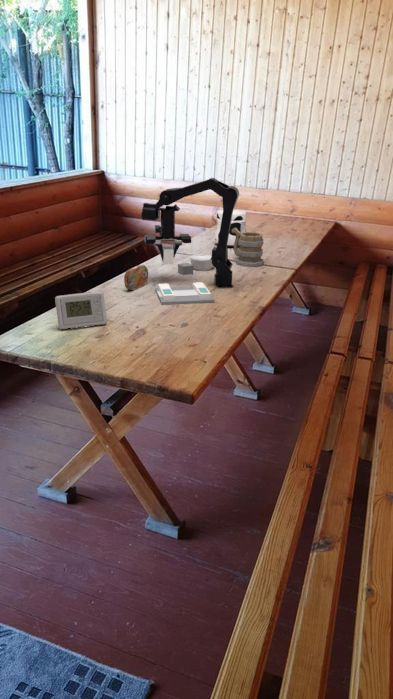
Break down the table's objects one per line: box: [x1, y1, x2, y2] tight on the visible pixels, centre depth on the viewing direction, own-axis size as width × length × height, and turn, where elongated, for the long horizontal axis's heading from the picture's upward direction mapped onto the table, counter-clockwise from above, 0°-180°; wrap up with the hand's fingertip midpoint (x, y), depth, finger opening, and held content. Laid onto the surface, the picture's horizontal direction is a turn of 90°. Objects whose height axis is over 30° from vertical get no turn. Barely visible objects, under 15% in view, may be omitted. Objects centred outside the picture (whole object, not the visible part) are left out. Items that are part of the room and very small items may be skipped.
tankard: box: [232, 228, 264, 268], centre depth 262 cm, size 20×13×15 cm, turn 34°
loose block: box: [177, 262, 194, 276], centre depth 243 cm, size 5×5×4 cm
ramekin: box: [189, 253, 214, 271], centre depth 251 cm, size 11×11×5 cm
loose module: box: [161, 246, 175, 265], centre depth 227 cm, size 4×6×6 cm, turn 12°
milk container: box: [213, 208, 247, 248], centre depth 293 cm, size 17×17×18 cm
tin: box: [123, 264, 149, 291], centre depth 221 cm, size 15×3×8 cm, turn 154°
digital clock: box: [54, 291, 108, 330], centre depth 180 cm, size 16×9×11 cm, turn 102°
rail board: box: [154, 281, 215, 306], centre depth 213 cm, size 20×18×3 cm
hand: (167, 259), depth 228 cm, fingers closed on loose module, 4 cm apart
